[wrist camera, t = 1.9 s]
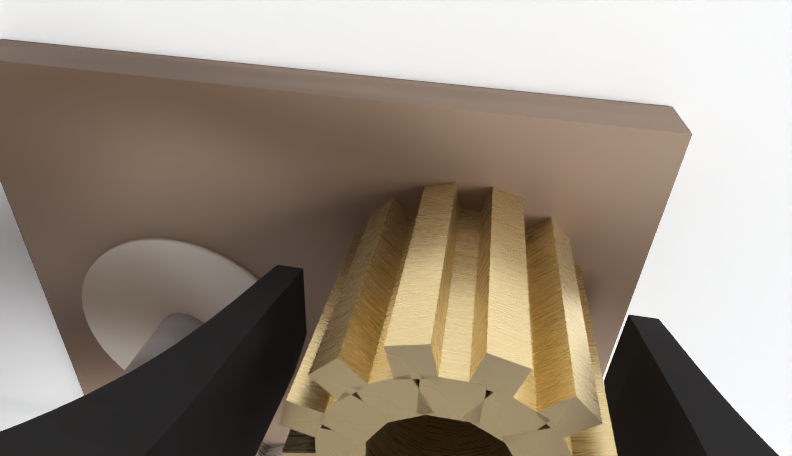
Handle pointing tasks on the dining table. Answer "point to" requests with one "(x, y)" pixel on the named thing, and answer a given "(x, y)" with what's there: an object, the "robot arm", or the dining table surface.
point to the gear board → (290, 184)
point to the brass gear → (452, 341)
